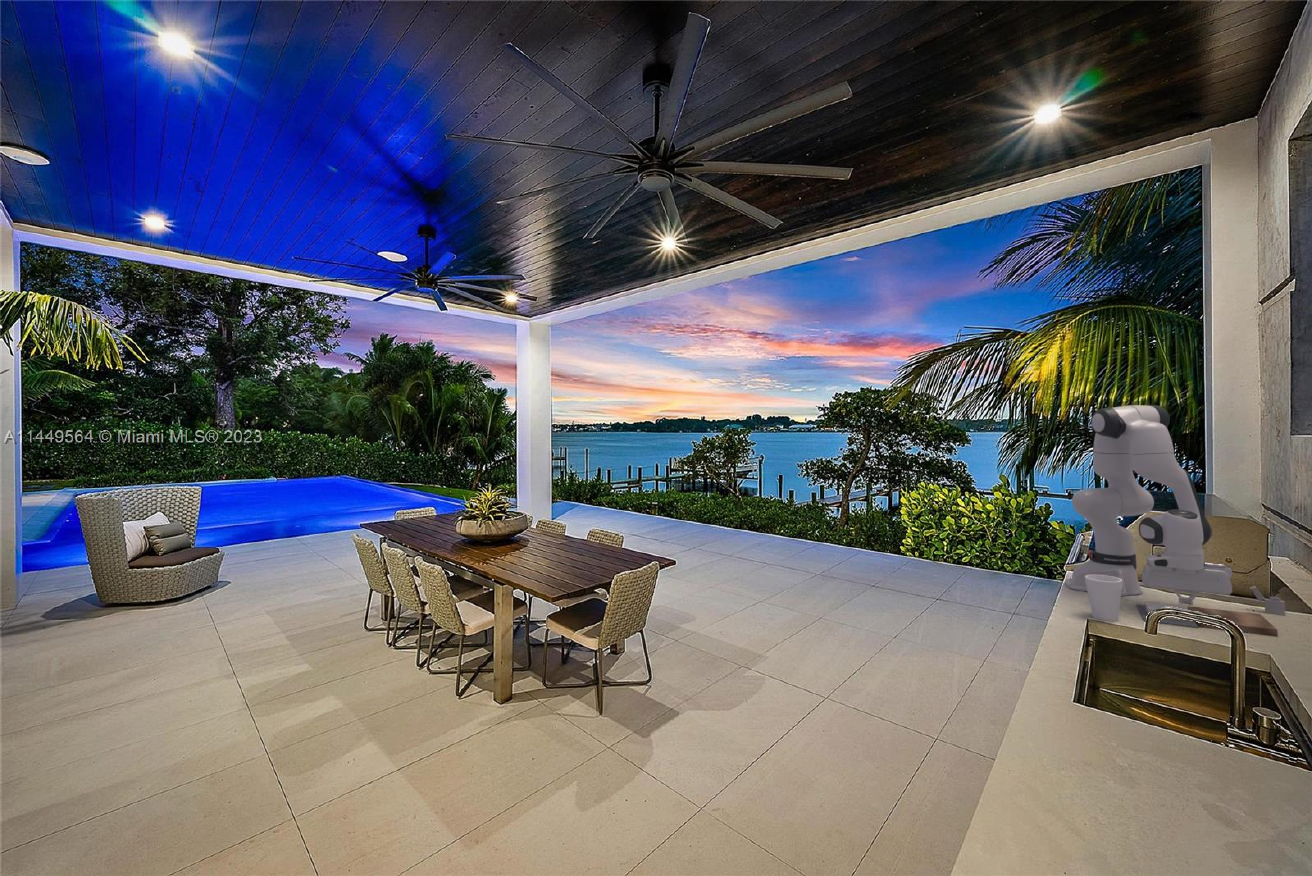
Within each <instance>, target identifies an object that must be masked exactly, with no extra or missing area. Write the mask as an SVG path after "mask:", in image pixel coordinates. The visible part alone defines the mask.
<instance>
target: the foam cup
mask: <svg viewBox="0 0 1312 876" xmlns="http://www.w3.org/2000/svg"><path fill="white" fill-rule="evenodd" d="M1085 584H1086V586H1087V591H1086V592H1087V595H1088V599H1089V604H1090V609H1091V612H1092V613H1091V614H1092V617H1093V616H1094V617H1093V618H1095V619H1098V620H1100V621H1101V620H1102V621H1108V622H1113V621H1114V622H1117V621H1119V616H1120V607H1121V598H1122V596H1121V590H1122V588H1123V586H1122V579H1120V578H1117V577H1113V576H1107V575H1086V576H1085Z"/></svg>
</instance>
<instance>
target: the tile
mask: <svg viewBox="0 0 1312 876" xmlns="http://www.w3.org/2000/svg"><path fill="white" fill-rule="evenodd" d="M1144 605H1145V610H1146V612H1147V614H1148V613H1149V612H1151V611H1153V610H1155V609H1157V608H1161V607H1164V606H1173V607H1178V608H1182V609H1187V610H1189V609H1188V606H1183V605H1171V604H1162V603H1152V602H1144ZM1166 618H1169V619H1177V620H1183V619H1178V618H1174V617H1166ZM1186 621H1190V620H1186Z"/></svg>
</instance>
